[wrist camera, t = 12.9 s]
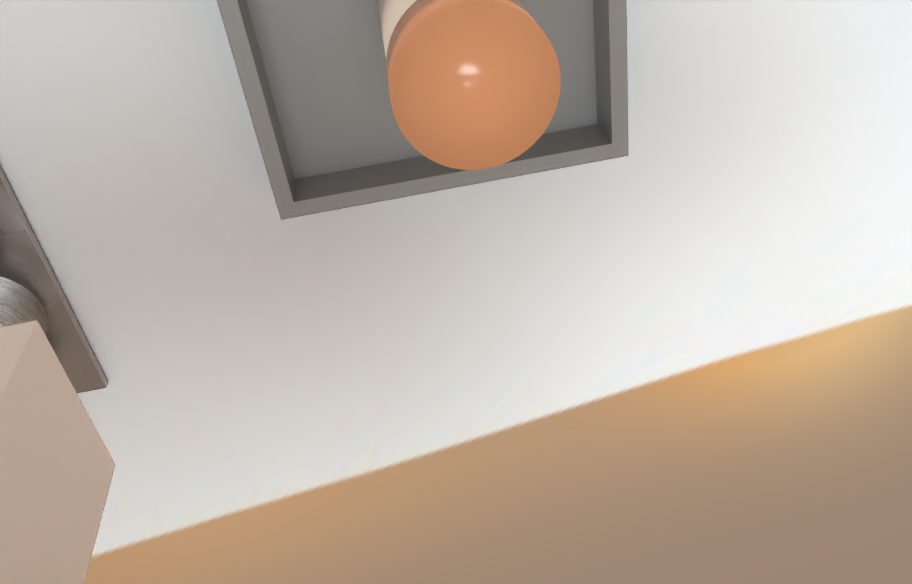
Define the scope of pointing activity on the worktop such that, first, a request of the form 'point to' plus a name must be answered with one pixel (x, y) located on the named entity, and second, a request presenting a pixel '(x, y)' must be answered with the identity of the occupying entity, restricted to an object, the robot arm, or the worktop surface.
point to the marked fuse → (468, 78)
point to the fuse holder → (40, 295)
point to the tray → (369, 105)
